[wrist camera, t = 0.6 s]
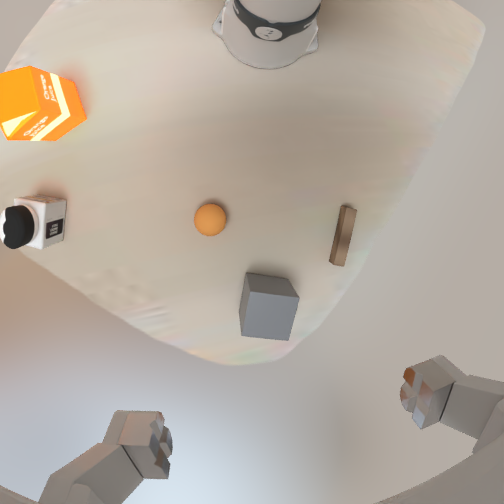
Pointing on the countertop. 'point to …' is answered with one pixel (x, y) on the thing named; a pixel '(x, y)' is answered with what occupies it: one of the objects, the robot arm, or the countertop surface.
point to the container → (33, 222)
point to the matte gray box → (267, 307)
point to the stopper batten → (342, 236)
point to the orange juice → (38, 105)
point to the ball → (210, 220)
